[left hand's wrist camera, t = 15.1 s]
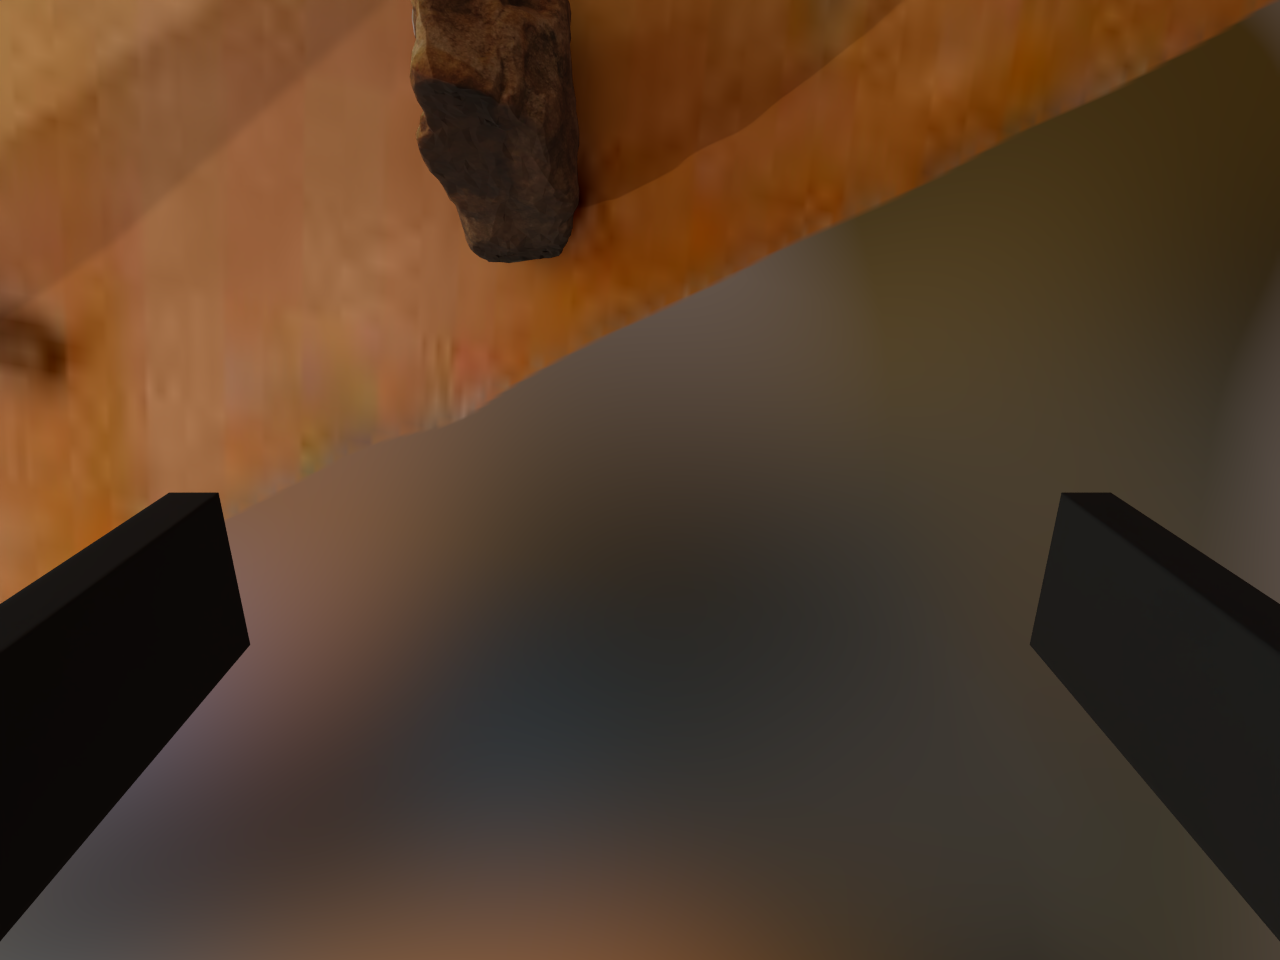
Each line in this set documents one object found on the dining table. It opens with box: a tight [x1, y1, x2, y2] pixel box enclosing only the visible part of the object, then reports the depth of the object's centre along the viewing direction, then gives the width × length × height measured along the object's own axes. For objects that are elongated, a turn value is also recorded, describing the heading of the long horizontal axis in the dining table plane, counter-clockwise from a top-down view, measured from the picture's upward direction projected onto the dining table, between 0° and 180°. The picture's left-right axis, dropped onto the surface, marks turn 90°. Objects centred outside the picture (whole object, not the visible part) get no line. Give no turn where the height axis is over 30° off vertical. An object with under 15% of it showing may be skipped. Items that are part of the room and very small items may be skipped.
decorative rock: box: [410, 0, 579, 263], centre depth 31 cm, size 12×6×11 cm, turn 177°
